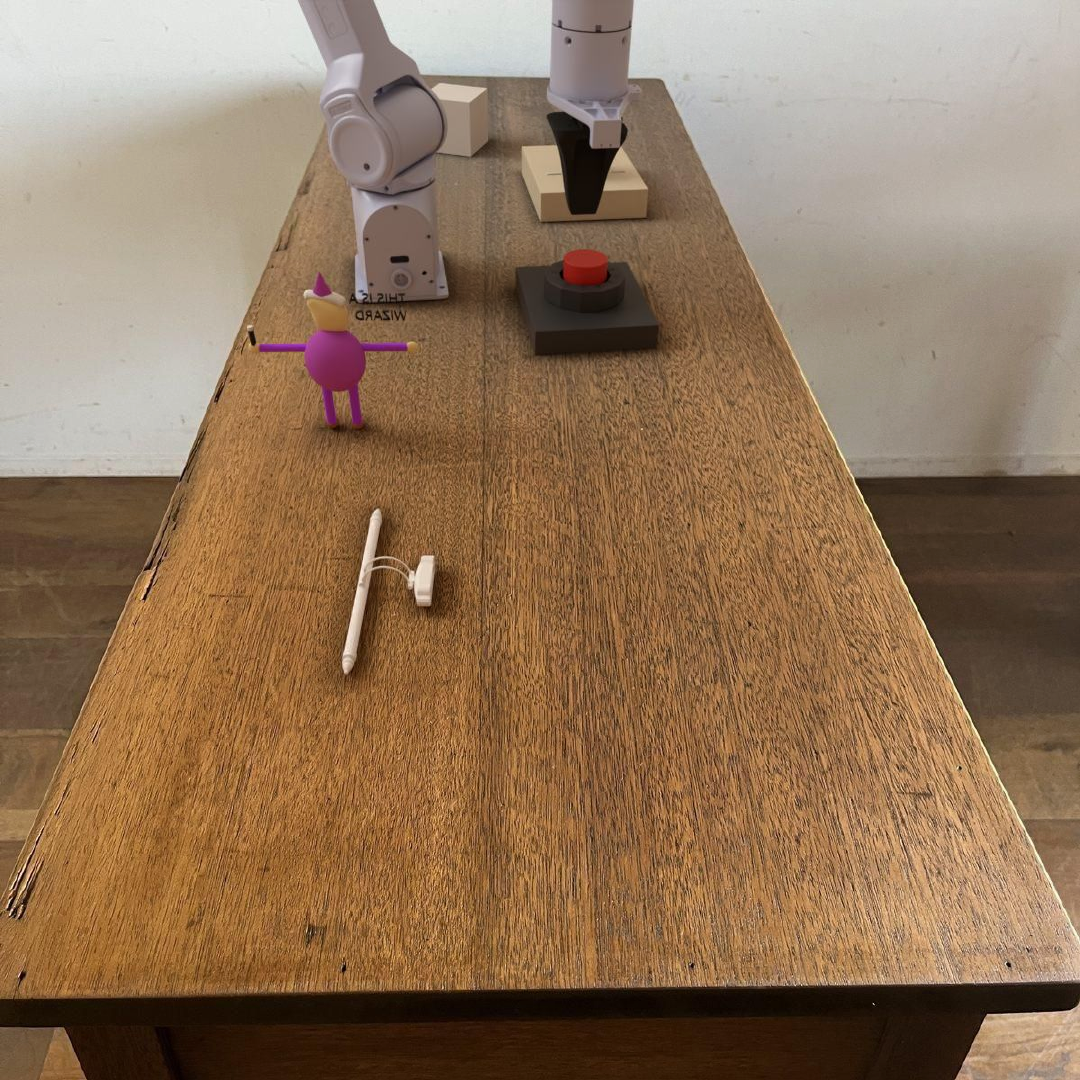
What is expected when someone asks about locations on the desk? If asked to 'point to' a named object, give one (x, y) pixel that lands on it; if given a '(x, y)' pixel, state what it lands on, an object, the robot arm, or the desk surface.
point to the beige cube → (464, 118)
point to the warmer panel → (548, 195)
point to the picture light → (420, 582)
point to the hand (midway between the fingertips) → (582, 211)
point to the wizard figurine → (336, 347)
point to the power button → (585, 267)
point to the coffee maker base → (584, 311)
